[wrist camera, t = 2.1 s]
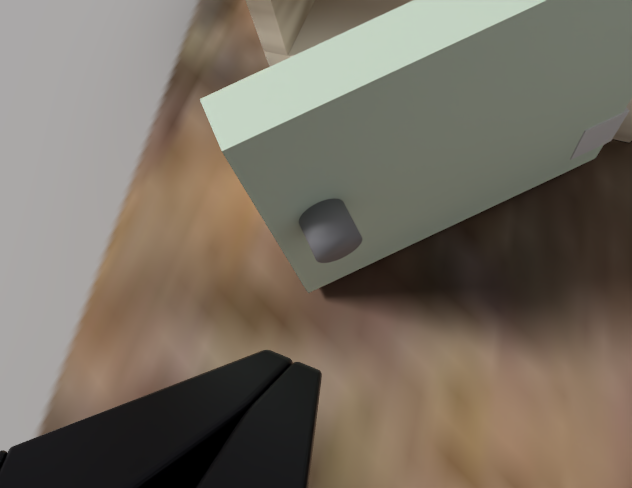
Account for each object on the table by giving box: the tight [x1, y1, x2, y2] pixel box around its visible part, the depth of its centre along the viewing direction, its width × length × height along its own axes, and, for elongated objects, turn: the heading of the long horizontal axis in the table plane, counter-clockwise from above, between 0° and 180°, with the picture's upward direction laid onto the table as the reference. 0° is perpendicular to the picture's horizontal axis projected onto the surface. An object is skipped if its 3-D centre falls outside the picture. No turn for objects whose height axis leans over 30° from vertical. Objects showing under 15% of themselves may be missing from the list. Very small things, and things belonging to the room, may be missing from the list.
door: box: [200, 0, 632, 293], centre depth 16 cm, size 3×12×10 cm, turn 114°
